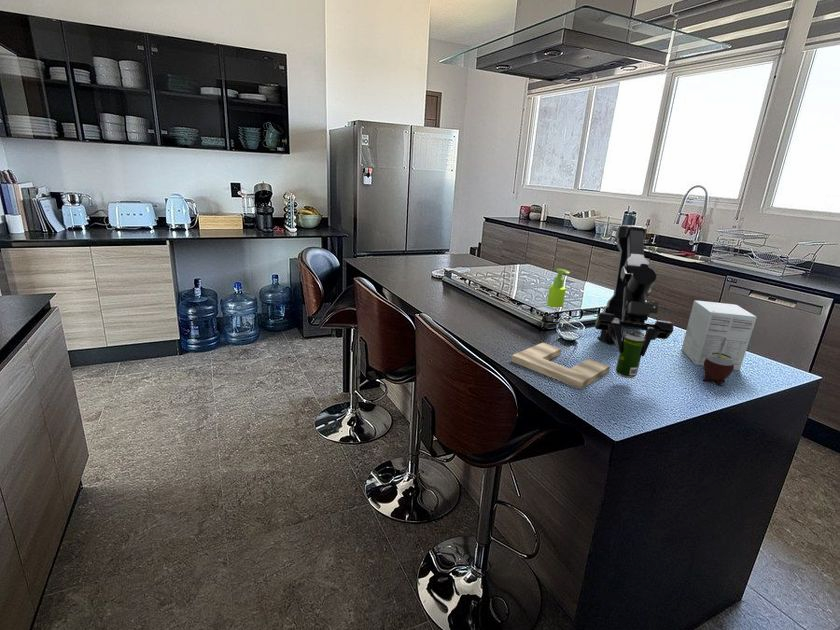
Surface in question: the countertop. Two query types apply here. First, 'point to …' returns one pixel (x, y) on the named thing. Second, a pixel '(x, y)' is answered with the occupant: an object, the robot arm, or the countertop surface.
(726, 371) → the mate gourd
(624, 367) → the green drink can
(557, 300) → the soap dispenser
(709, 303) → the supplement box
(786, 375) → the countertop surface
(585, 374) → the tan u-shaped bracket
